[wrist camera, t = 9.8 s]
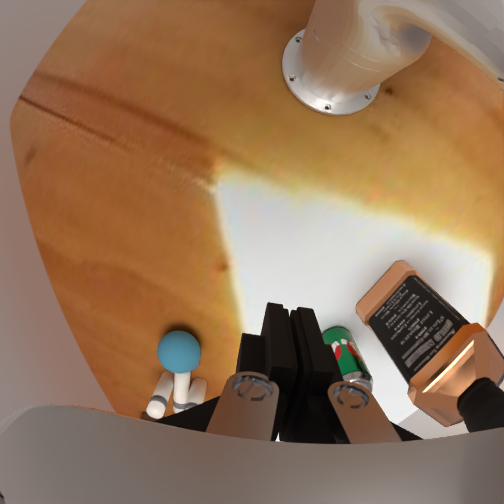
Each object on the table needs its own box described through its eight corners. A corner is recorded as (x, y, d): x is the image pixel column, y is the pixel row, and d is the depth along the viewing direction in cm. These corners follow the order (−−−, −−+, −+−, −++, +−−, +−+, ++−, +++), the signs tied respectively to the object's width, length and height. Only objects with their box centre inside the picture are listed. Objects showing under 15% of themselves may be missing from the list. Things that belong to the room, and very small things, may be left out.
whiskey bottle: (438, 298, 42) (575, 436, 11) (394, 345, 44) (492, 513, 13) (399, 256, 41) (569, 401, 10) (351, 308, 43) (455, 506, 12)
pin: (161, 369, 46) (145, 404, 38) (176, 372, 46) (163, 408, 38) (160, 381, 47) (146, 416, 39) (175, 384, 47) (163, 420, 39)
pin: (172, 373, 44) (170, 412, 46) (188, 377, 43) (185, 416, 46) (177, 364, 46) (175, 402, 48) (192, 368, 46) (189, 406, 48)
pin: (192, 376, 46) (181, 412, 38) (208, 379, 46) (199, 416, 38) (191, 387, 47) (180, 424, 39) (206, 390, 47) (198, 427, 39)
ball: (153, 373, 42) (167, 340, 46) (193, 385, 41) (205, 351, 46) (148, 352, 38) (164, 317, 42) (193, 366, 37) (206, 328, 42)
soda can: (318, 357, 45) (333, 411, 33) (317, 328, 44) (333, 380, 32) (351, 352, 45) (373, 404, 33) (351, 323, 43) (377, 372, 32)
